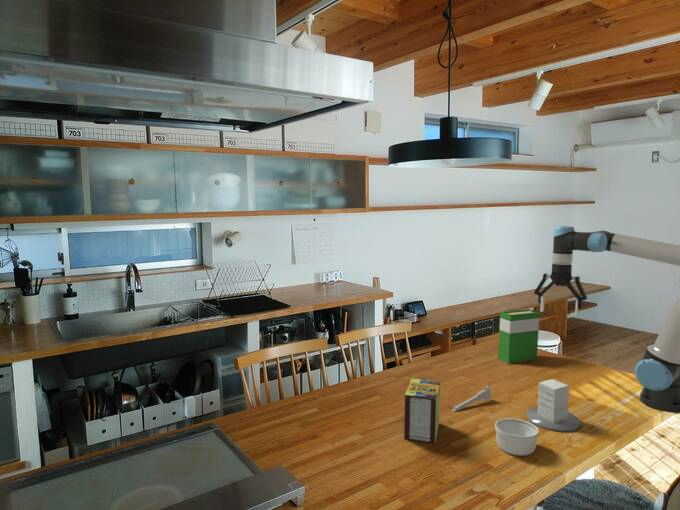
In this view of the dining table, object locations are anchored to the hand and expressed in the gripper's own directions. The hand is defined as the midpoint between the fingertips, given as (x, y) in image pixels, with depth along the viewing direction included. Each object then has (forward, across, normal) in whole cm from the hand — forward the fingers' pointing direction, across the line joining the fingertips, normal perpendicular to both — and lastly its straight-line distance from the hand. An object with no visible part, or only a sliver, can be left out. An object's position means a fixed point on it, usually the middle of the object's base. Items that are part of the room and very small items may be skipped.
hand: (558, 313), depth 204 cm
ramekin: (+32, -4, +62) cm, 70 cm away
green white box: (+32, +24, -26) cm, 48 cm away
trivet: (+32, -8, +34) cm, 47 cm away
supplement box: (+31, -8, +34) cm, 47 cm away
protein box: (+32, +25, +71) cm, 82 cm away
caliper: (+32, +20, +40) cm, 55 cm away
